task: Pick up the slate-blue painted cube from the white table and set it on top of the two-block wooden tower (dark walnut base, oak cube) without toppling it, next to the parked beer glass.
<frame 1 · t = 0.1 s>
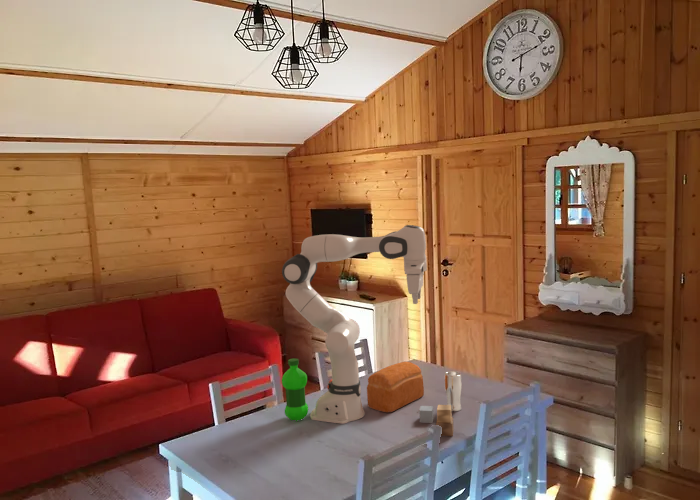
hand: (416, 301, 234), 48 cm above the table, fingers open, 8 cm apart
oak block: (444, 420, 223), point 5 cm above the table, touching walnut base block
bread: (396, 402, 258), on the table
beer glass: (453, 409, 247), on the table
walnut base block: (445, 432, 224), on the table, touching oak block
plastic bottle: (297, 419, 245), on the table
slate block: (426, 420, 236), on the table
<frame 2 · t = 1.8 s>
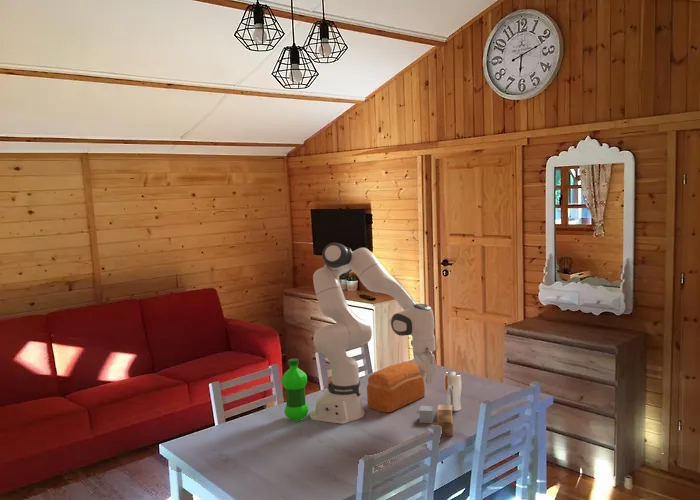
hand: (425, 379, 235), 17 cm above the table, fingers open, 8 cm apart
nothing on the table moved.
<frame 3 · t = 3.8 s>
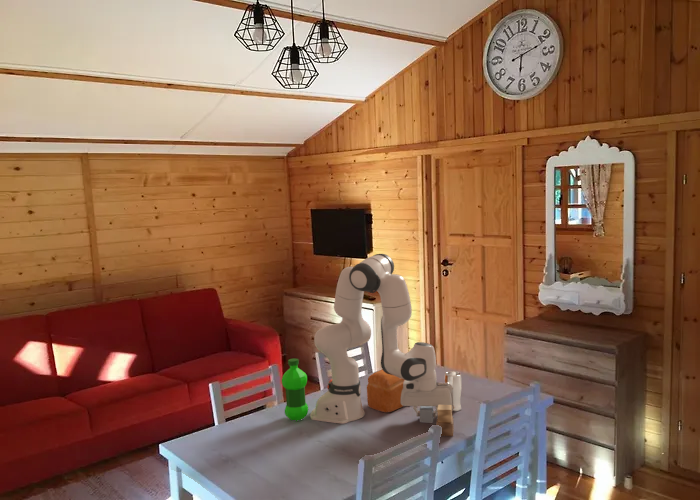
hand: (426, 416, 236), 2 cm above the table, fingers closed on slate block, 5 cm apart
slate block: (426, 420, 237), on the table, touching gripper
everything else where it was.
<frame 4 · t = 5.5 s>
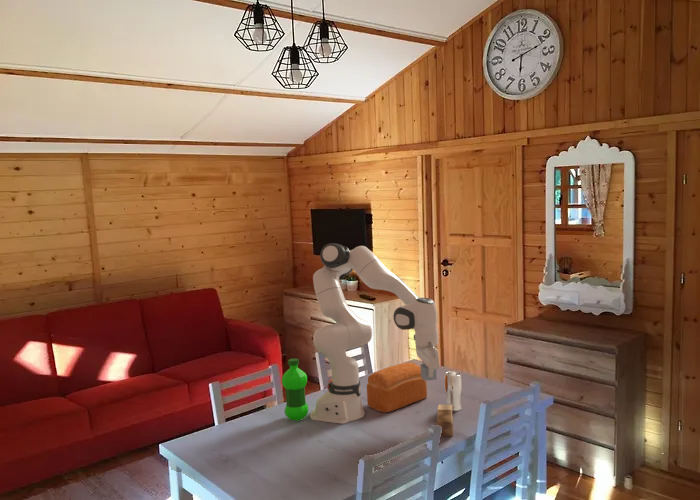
hand: (428, 374, 233), 19 cm above the table, fingers closed on slate block, 5 cm apart
slate block: (428, 378, 233), point 18 cm above the table, touching gripper
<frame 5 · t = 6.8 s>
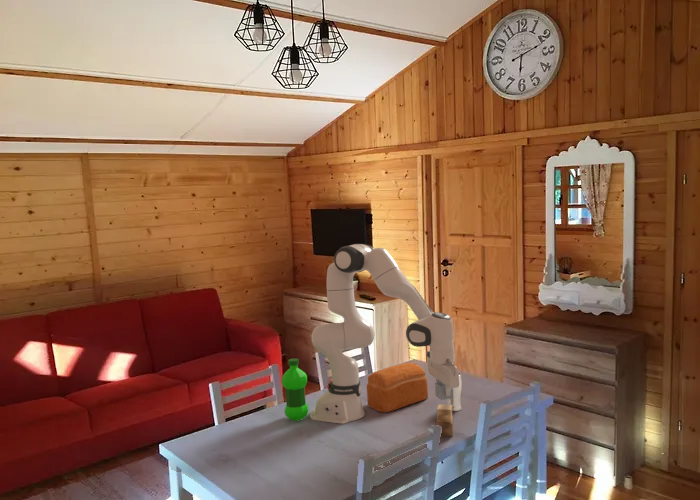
hand: (444, 392, 222), 16 cm above the table, fingers closed on slate block, 5 cm apart
slate block: (444, 396, 222), point 14 cm above the table, touching gripper
when the fingers open (13 cm above the table, at t = 7.7 s): slate block drops 1 cm, resting on oak block.
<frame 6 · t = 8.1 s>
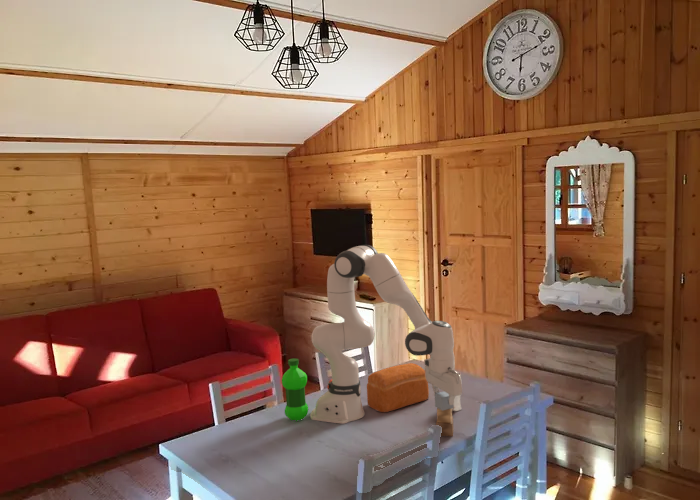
hand: (443, 400, 223), 13 cm above the table, fingers open, 8 cm apart
oak block: (444, 420, 223), point 5 cm above the table, touching slate block, walnut base block
slate block: (444, 407, 223), point 10 cm above the table, touching oak block
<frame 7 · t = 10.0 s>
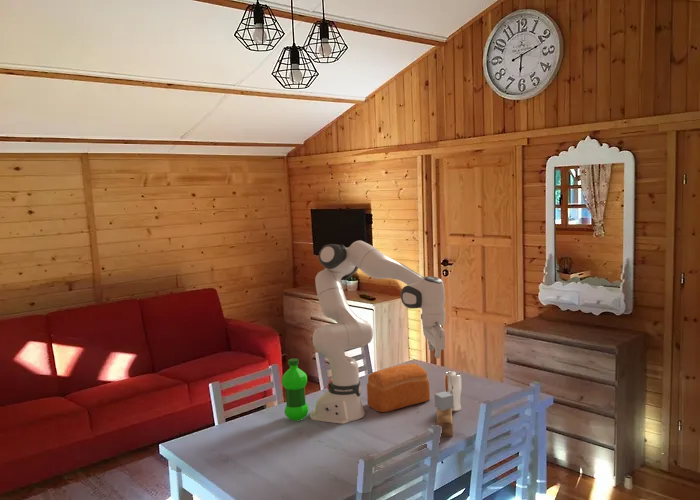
hand: (434, 354, 229), 28 cm above the table, fingers open, 8 cm apart
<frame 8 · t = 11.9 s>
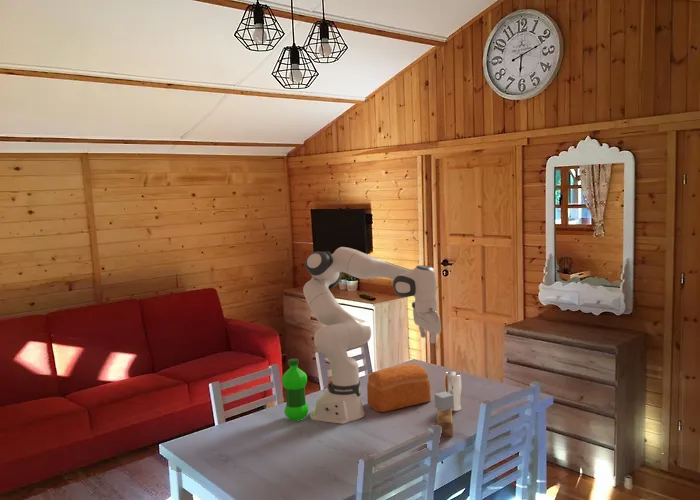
hand: (427, 339, 239), 31 cm above the table, fingers open, 8 cm apart
at the end: slate block 0.1 cm off-centre on the oak block, point 5.0 cm above the oak block's base; oak block tilted 0°; the gripper is holding nothing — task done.
